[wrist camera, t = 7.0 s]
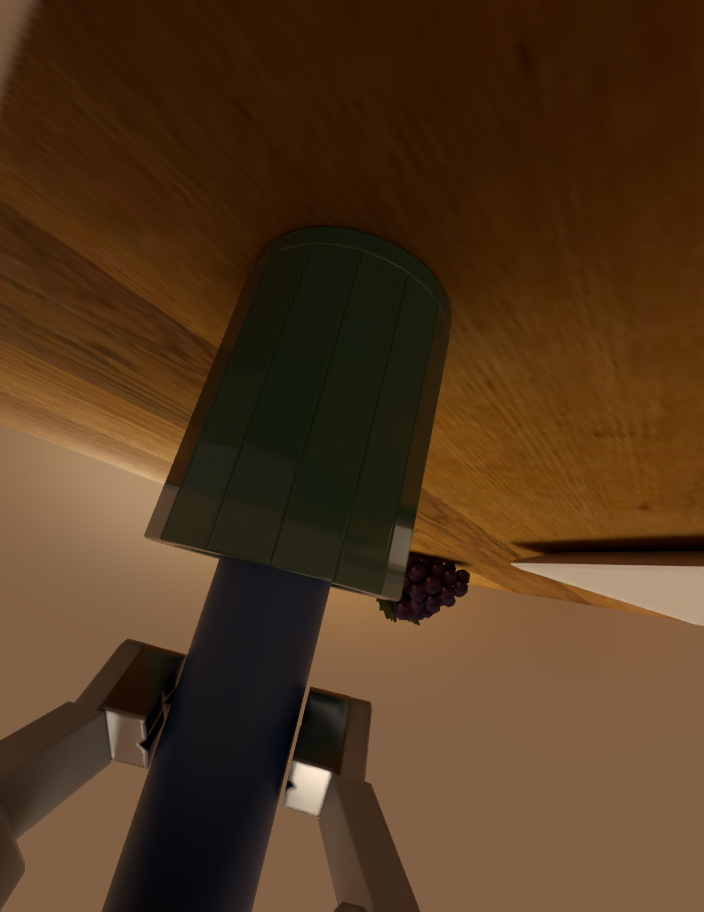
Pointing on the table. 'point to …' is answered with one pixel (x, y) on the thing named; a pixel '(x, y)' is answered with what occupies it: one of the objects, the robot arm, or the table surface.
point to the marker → (223, 747)
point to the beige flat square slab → (632, 578)
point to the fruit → (426, 589)
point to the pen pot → (315, 415)
